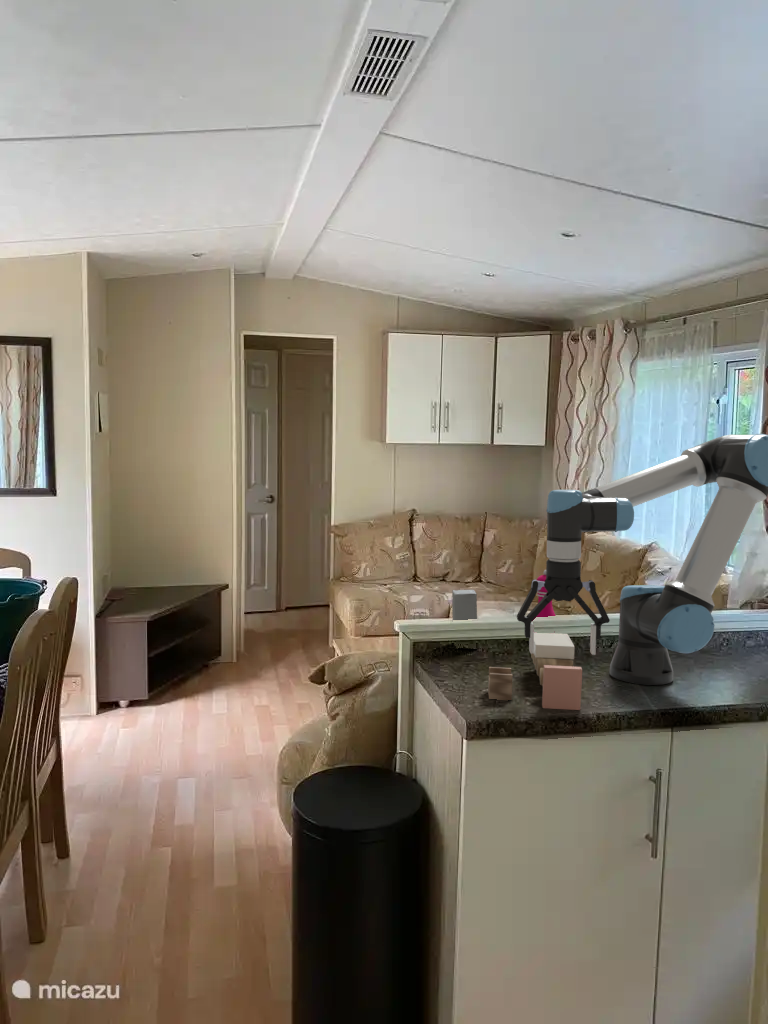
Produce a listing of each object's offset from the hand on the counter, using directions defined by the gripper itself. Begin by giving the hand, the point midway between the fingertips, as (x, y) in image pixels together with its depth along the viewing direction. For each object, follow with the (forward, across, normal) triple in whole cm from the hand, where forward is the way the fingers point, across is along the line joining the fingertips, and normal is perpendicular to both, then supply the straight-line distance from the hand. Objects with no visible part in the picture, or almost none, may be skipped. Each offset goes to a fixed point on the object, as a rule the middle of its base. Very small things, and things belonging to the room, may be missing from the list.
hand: (561, 652), depth 183 cm
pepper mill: (+11, -2, -61) cm, 62 cm away
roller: (+8, +1, 0) cm, 8 cm away
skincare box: (+10, +22, -43) cm, 50 cm away
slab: (+4, +1, -15) cm, 15 cm away
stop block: (+10, +1, +7) cm, 12 cm away
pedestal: (+10, +14, +1) cm, 17 cm away
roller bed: (+11, +1, -9) cm, 14 cm away
